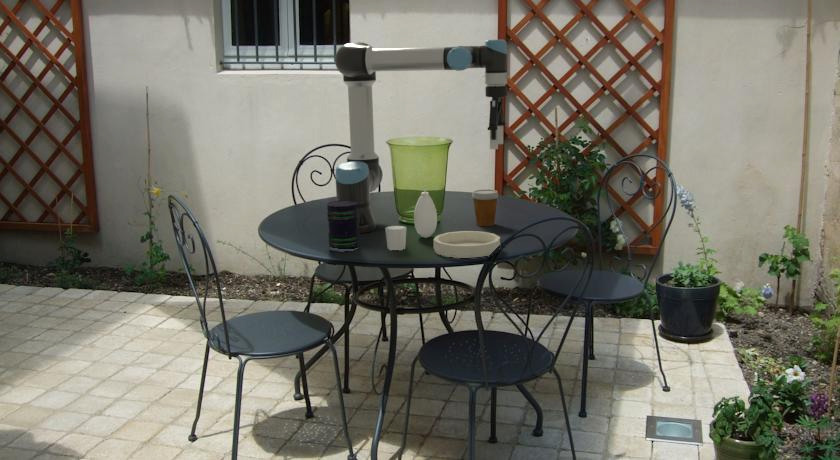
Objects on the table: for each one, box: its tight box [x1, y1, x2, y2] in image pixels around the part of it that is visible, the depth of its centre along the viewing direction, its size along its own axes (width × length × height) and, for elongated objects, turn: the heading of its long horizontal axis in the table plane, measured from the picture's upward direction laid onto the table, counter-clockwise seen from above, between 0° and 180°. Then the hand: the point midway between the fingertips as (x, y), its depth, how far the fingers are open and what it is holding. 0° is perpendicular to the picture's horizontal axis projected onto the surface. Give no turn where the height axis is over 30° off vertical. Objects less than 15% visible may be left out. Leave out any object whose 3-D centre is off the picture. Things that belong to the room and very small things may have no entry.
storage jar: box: [326, 200, 360, 249], centre depth 285 cm, size 10×10×15 cm
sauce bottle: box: [413, 184, 438, 239], centre depth 297 cm, size 8×8×18 cm
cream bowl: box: [432, 230, 501, 259], centre depth 279 cm, size 20×20×4 cm
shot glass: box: [384, 225, 408, 251], centre depth 284 cm, size 7×7×7 cm
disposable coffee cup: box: [471, 189, 499, 227], centre depth 315 cm, size 10×10×12 cm
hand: (496, 146), depth 310 cm, fingers open, 13 cm apart
